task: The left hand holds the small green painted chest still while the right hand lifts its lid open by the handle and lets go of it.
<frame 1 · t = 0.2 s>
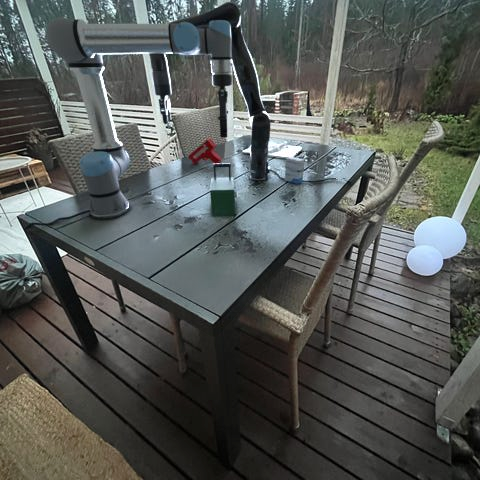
left hand: (224, 133, 113), 28 cm above the table, tool pointing down, fingers open, 13 cm apart
right hand: (167, 122, 130), 29 cm above the table, tool pointing down, fingers open, 8 cm apart
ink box: (293, 181, 143), on the table
chest: (223, 208, 117), on the table
lid: (222, 176, 109), point 14 cm above the table, hinge at 0.0°
toy gun: (205, 163, 170), on the table
relief map: (273, 151, 194), on the table
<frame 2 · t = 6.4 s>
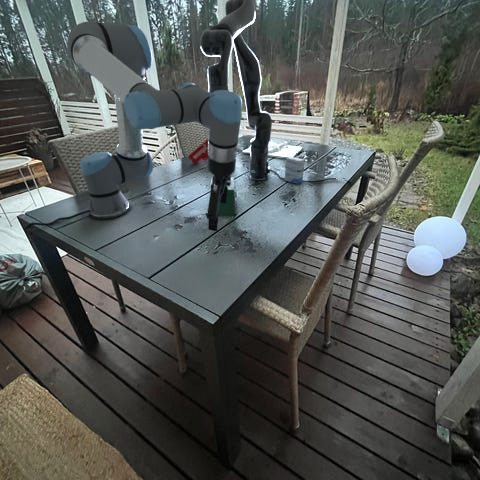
left hand: (217, 215, 88), 11 cm above the table, tool tilted 15°, fingers open, 13 cm apart
right hand: (221, 145, 107), 25 cm above the table, tool pointing down, fingers open, 8 cm apart
nothing on the table moved.
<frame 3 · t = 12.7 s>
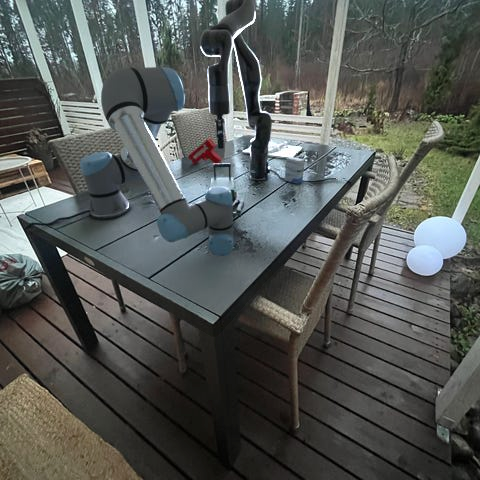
left hand: (222, 195, 111), 7 cm above the table, tool horizontal, fingers closed on chest, 9 cm apart
right hand: (221, 145, 107), 25 cm above the table, tool pointing down, fingers open, 8 cm apart
chest: (223, 208, 117), on the table, touching left hand
everything else where it was.
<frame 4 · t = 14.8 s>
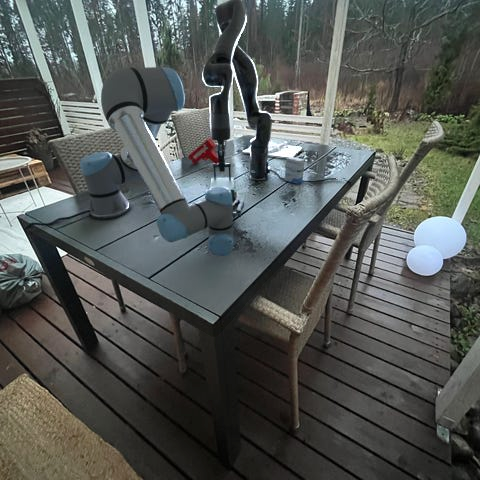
left hand: (222, 195, 111), 7 cm above the table, tool horizontal, fingers closed on chest, 9 cm apart
right hand: (222, 170, 112), 15 cm above the table, tool pointing down, fingers closed
chest: (223, 208, 117), on the table, touching left hand
lid: (222, 176, 109), point 14 cm above the table, hinge at -0.1°, touching right hand
everything else where it was.
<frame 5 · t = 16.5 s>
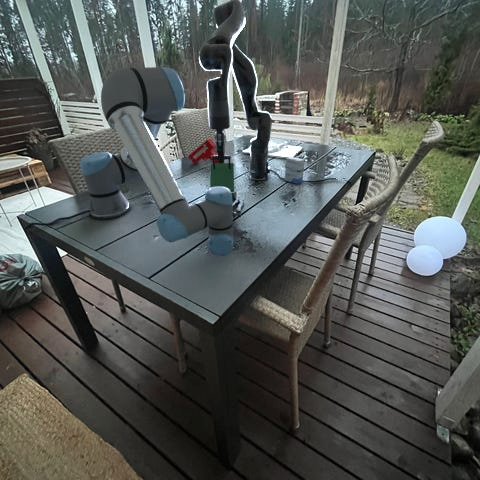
left hand: (222, 195, 111), 7 cm above the table, tool horizontal, fingers closed on chest, 9 cm apart
right hand: (221, 162, 105), 20 cm above the table, tool pointing down, fingers closed
chest: (223, 208, 117), on the table, touching left hand
lid: (221, 171, 105), point 17 cm above the table, hinge at 29.4°, touching right hand
everything else where it was.
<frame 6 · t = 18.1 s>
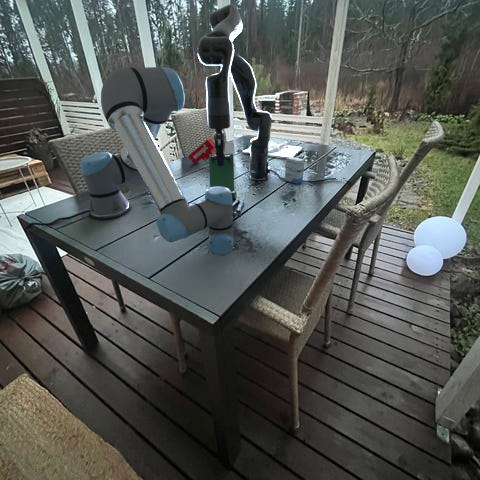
left hand: (222, 195, 111), 7 cm above the table, tool horizontal, fingers closed on chest, 9 cm apart
right hand: (220, 163, 99), 22 cm above the table, tool pointing down, fingers open, 3 cm apart
chest: (223, 208, 117), on the table, touching left hand
lid: (221, 171, 101), point 19 cm above the table, hinge at 60.3°
everything else where it was.
when the left hand's fingers open (7 cm above the table, at t = 22.0 s): chest stays where it is, on the table.
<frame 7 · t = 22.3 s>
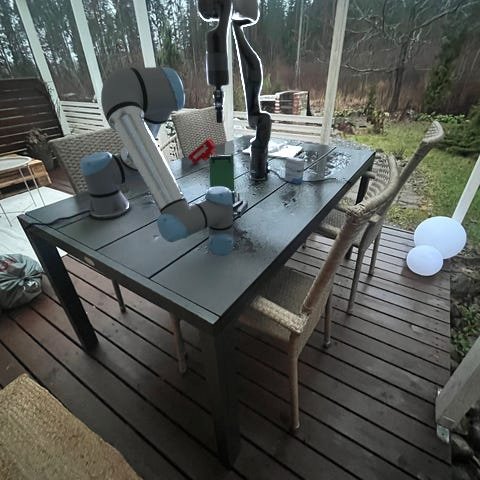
left hand: (222, 196, 110), 7 cm above the table, tool horizontal, fingers open, 12 cm apart
right hand: (220, 120, 101), 35 cm above the table, tool pointing down, fingers open, 8 cm apart
chest: (223, 208, 117), on the table
lid: (221, 171, 102), point 19 cm above the table, hinge at 59.0°
everything else where it was.
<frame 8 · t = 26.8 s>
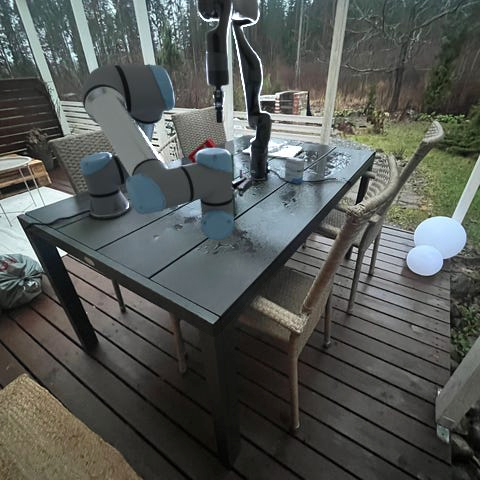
left hand: (220, 173, 91), 21 cm above the table, tool horizontal, fingers open, 13 cm apart
right hand: (220, 120, 101), 35 cm above the table, tool pointing down, fingers open, 8 cm apart
nothing on the table moved.
at the end: lid at +59° (first picture: +0°); the left hand is holding nothing; the right hand is holding nothing; chest tilted 0°; chest never tilted more than 1° during the clip; chest moved 0.0 cm from its start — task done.
